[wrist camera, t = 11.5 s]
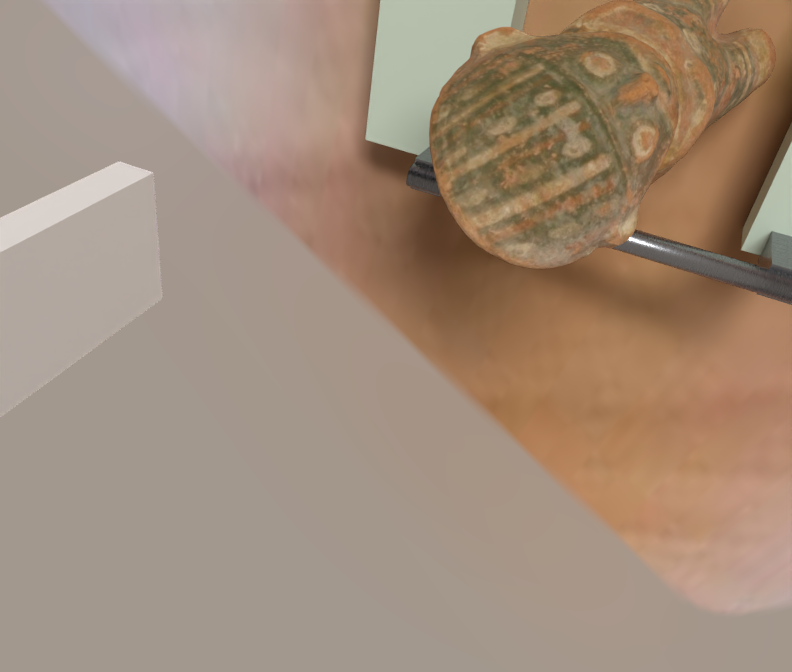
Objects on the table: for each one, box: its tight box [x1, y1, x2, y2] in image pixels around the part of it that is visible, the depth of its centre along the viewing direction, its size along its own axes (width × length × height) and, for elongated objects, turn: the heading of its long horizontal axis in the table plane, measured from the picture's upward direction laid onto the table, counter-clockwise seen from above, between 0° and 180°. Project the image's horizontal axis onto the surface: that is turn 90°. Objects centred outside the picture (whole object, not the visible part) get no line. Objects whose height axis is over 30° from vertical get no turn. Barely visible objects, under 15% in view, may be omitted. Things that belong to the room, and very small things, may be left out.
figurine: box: [429, 0, 776, 269], centre depth 26 cm, size 8×8×15 cm
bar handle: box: [407, 146, 792, 305], centre depth 31 cm, size 16×1×4 cm, turn 82°
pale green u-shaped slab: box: [365, 0, 792, 255], centre depth 29 cm, size 24×17×2 cm
